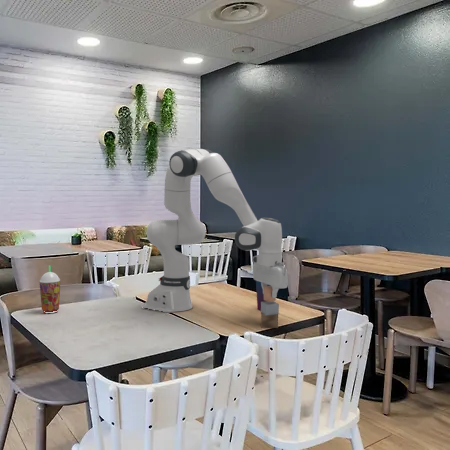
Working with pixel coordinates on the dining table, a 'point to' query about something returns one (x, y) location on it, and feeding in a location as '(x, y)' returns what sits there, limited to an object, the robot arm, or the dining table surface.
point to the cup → (259, 295)
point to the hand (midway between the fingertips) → (269, 295)
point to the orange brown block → (268, 293)
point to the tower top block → (269, 308)
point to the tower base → (269, 321)
